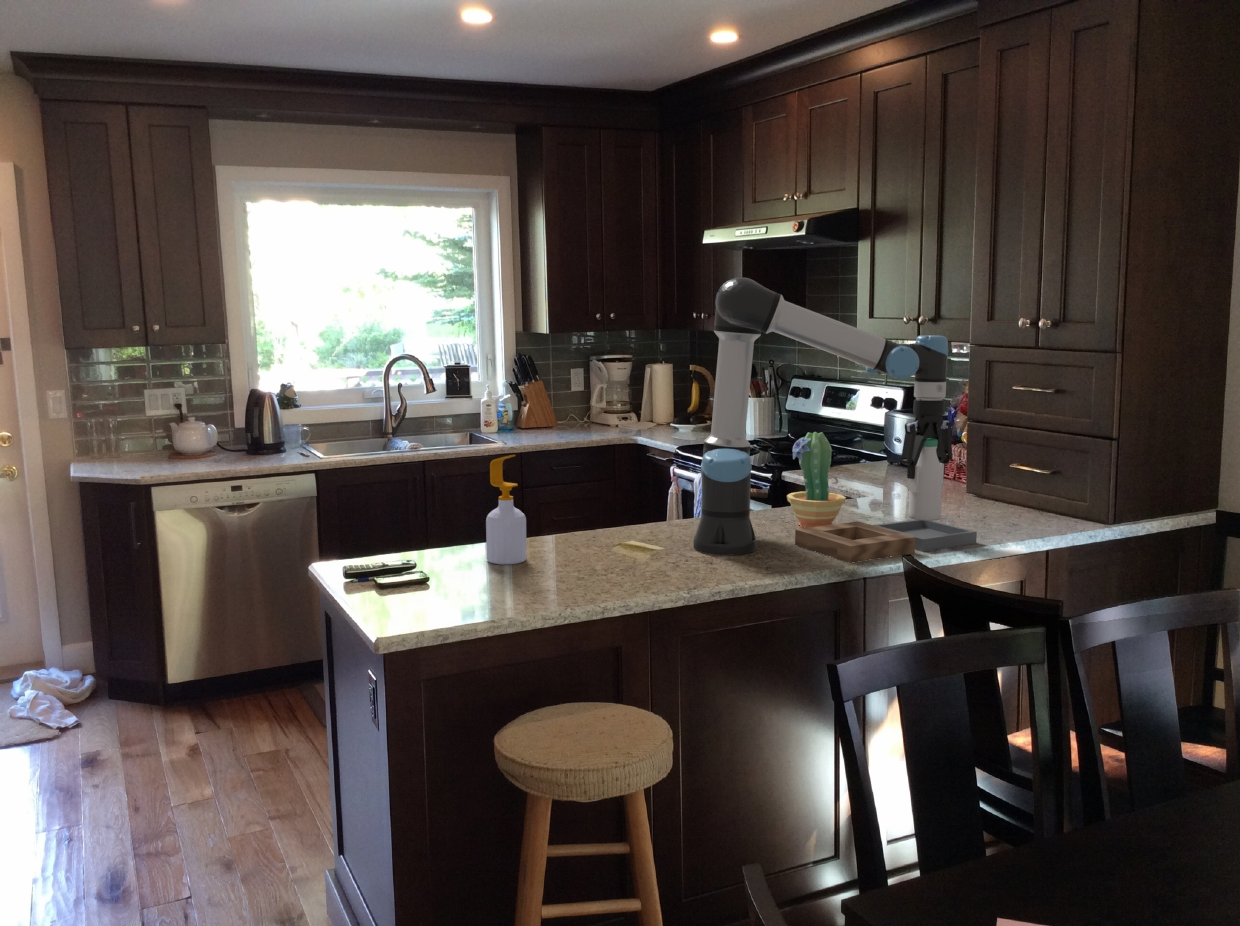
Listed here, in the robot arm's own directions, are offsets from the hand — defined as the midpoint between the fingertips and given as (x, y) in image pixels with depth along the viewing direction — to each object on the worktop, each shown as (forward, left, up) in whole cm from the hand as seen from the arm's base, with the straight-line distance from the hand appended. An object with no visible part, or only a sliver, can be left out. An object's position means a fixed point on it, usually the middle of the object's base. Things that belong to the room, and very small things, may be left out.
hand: (925, 490), depth 262 cm
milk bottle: (0, 0, -7) cm, 7 cm away
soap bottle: (-100, +30, -13) cm, 105 cm away
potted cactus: (-13, +26, -13) cm, 32 cm away
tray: (0, 0, -13) cm, 13 cm away
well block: (-22, +1, -13) cm, 25 cm away
